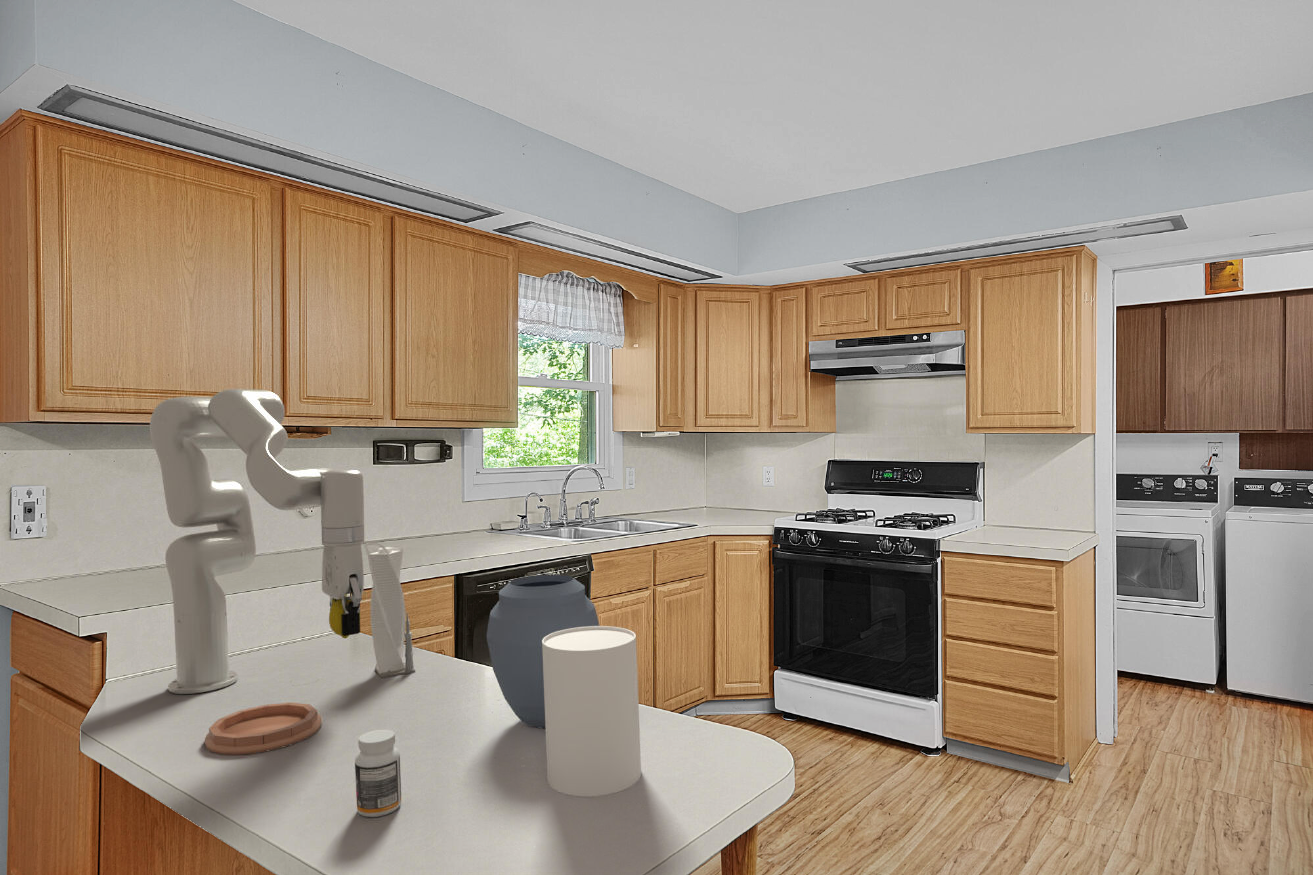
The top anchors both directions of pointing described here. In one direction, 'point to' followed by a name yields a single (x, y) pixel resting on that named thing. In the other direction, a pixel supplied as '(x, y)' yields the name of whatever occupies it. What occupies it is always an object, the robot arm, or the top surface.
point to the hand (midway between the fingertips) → (345, 630)
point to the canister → (591, 710)
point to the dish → (262, 728)
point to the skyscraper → (389, 613)
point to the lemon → (337, 617)
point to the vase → (532, 636)
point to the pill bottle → (377, 774)
